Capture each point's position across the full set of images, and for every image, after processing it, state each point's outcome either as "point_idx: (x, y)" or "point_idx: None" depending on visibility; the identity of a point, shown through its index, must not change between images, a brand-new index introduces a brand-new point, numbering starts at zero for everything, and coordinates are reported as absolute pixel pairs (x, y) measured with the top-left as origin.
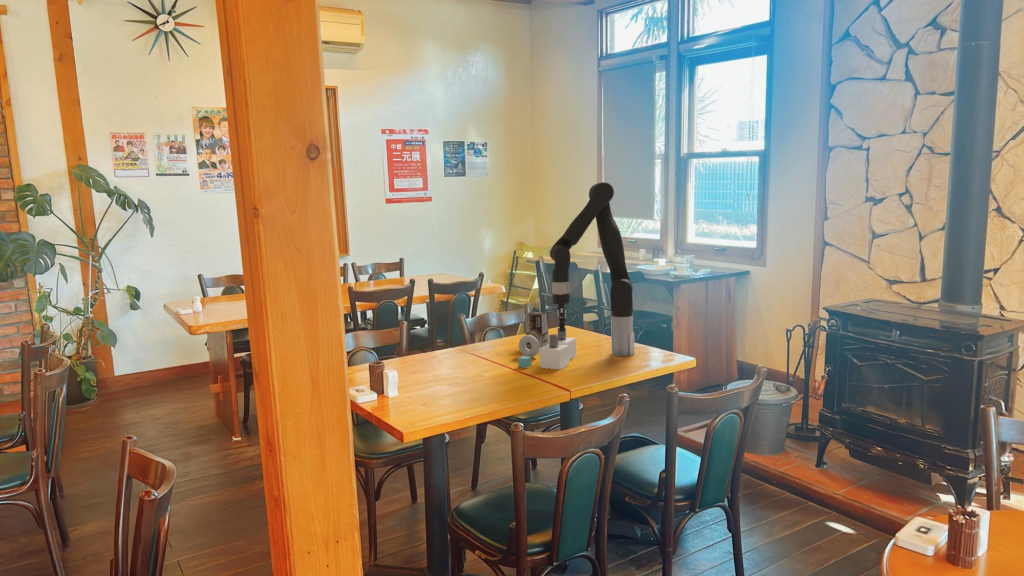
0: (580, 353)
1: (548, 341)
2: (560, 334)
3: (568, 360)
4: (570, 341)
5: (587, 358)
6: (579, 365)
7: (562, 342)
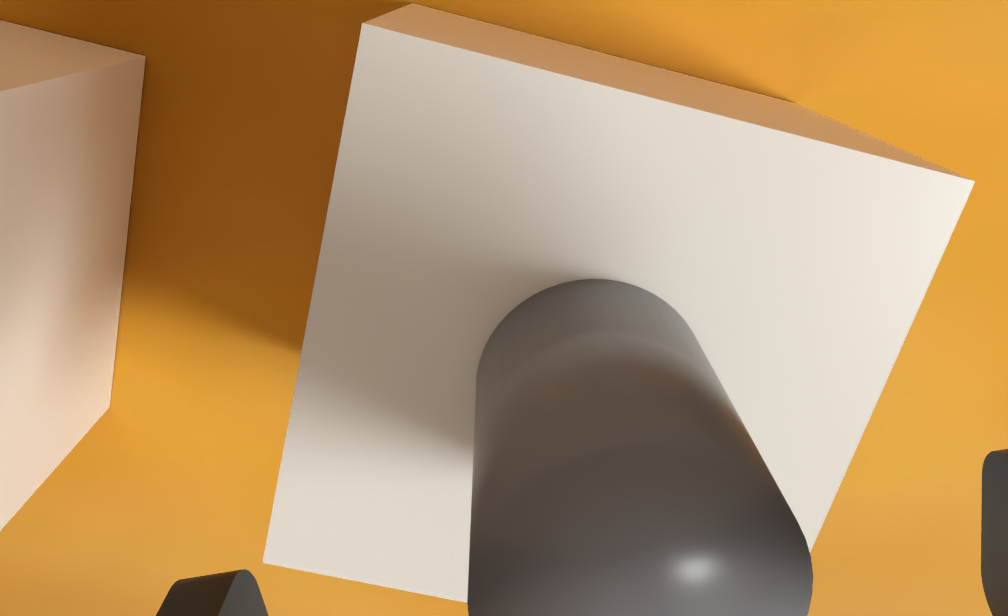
0: (874, 478)
1: (365, 29)
2: (474, 453)
3: (78, 439)
4: (441, 589)
5: None
6: (101, 556)
7: (289, 436)
